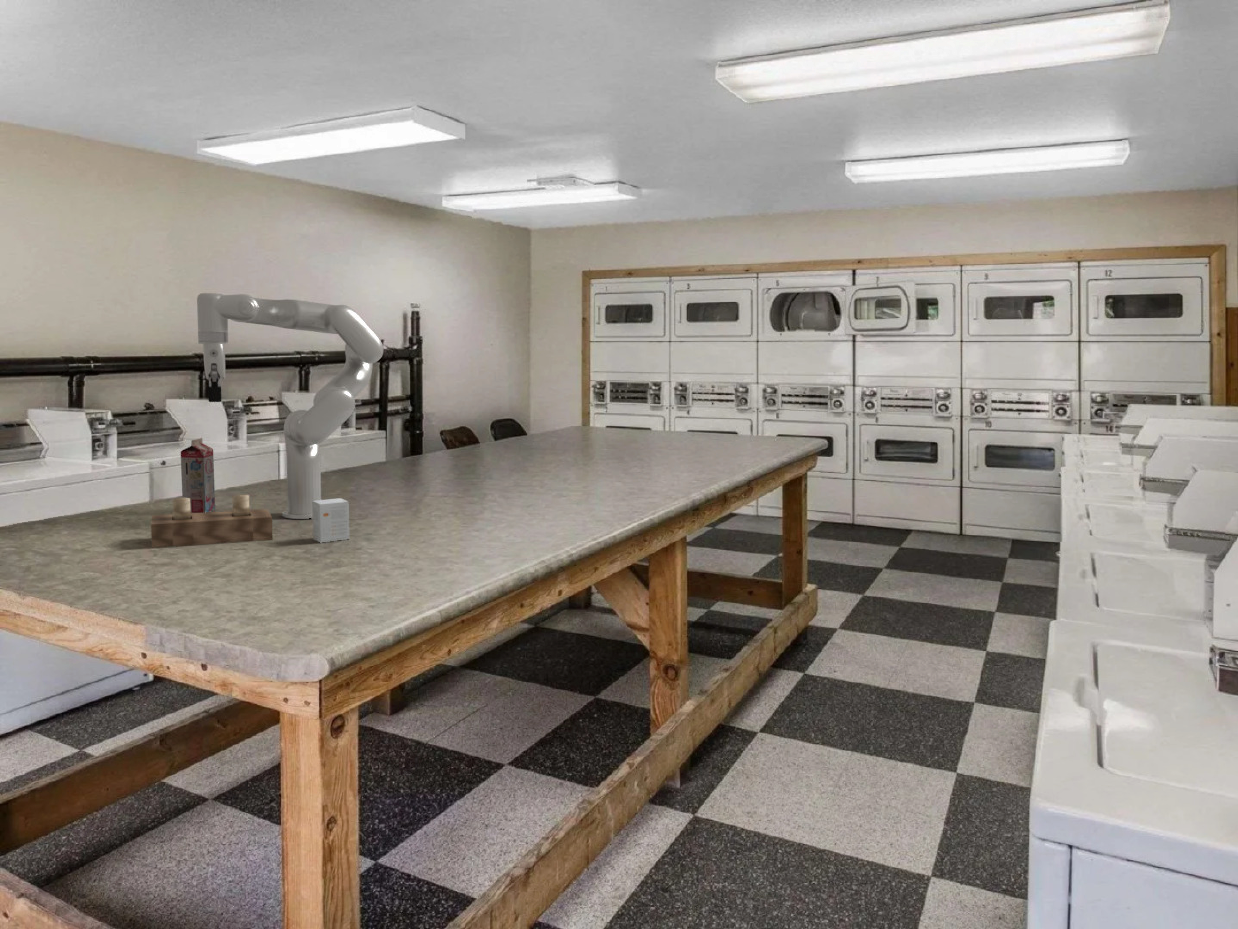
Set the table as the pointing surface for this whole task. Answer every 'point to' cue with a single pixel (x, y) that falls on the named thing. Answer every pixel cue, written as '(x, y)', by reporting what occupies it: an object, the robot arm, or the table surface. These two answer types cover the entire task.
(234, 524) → the press block
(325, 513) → the small box
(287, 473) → the robot arm
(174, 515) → the peg
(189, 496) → the juice carton
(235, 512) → the peg
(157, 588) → the table surface
